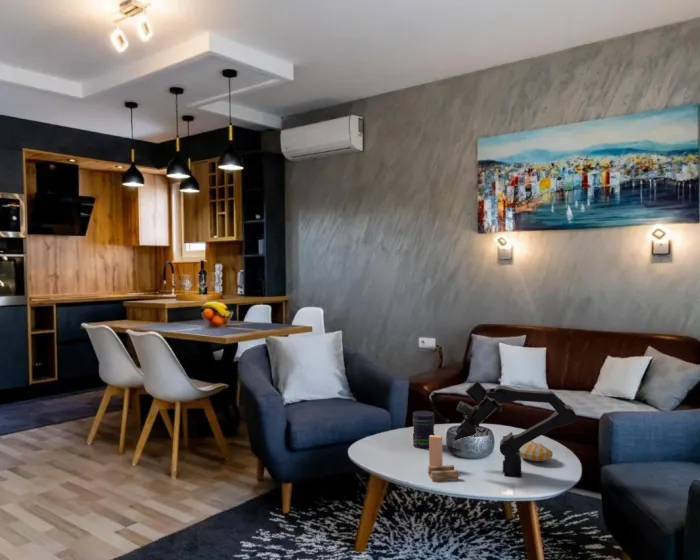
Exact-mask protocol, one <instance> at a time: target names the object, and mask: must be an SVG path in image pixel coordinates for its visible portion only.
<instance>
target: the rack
mask: <svg viewBox="0 0 700 560" xmlns="http://www.w3.org/2000/svg"><path fill="white" fill-rule="evenodd" d="M427 474H429V475H428V476H429V478H430V480H431V479H432V480H431V481H432V482H447V481H446V480H455V481H459V471H458V470H457V469H455V466H454V465H453V464H449V465H448V464H447V465H445V464H444V465H443V466H429V465H428V467H427Z"/></svg>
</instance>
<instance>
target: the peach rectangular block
mask: <svg viewBox="0 0 700 560" xmlns="http://www.w3.org/2000/svg"><path fill="white" fill-rule="evenodd" d="M428 450H429V453H428V455H429V458H428V459H429V465H428V466H444V465H443V463H444V462H443V460H444V459H443V435H435V434H434V435H430V436H429V449H428Z"/></svg>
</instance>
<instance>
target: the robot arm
mask: <svg viewBox="0 0 700 560" xmlns="http://www.w3.org/2000/svg"><path fill="white" fill-rule="evenodd" d="M464 392H465V394H466V395H468V396H469V398H471V400H472V401H474V403H476V402H477V403H479V404H478V405H474V406H472V405H470V404H469V403H466V402H464V401H462V400H460V401H459V403H458V404H457V407H456V411H458V412H460V413H462V414H463V416H462V422H461V423H460V425H459V426H458V428H457V429H456V431H455V433H456V435H455V436H453V440H454V441H457V440H459V439H462V438H466V437H470V436H474V435H475V434H476V433H478V429H477V428H479V426H480V424H482V423H483V422H484V421H486V420H487V418H488V417H489V416H490V415H491V414H492V413H493V412H495V410H497V411H498V412H499V413H502V411H503V410H502V407H503V404H506V403H513V402H518V401H519V402H533V403H547V404H549V405H550V406H551V407H552V408H553V409H554V412H553V413H552V414H551V415H550V416H549V417H547V418H545V419H543V420H542V421H540V422H538V423H536V424H535V425H533V426H531V427H529V428H527V429H526V430H523V431H522V432H520V433H517V434H514V433H513V431H511V432H509V433H508V434H507V435H503V436H502V439H501V440H500V441H499V452H500V455H502V456H503V460H502V473H503V475H504V477H514V478H515V477H516V478H517V477H518V478H522V477H523V476H522V457H520V450H519V449H520V448H521V447H522V446H523V445H524V444H526V443H528V442H530V441H533V440H535V439H537V438H539V437H540V436H542V435H544V434H546V433H548V432H549V431H551V430H554V429H555V428H560V427H564V426H568V425H570V424H573V423H574V422H575V421H576V419H577V414H576V412H575V410H574V408H573V407H572V406H571V405H570V404H569V405H568V404H566V403H565V401H563V400H562V399H561V398H559V396H558V395H556V393H555V392H554V391H545V390H543V391H541V390H540V391H539V390H525V389H517V388H513V387H509V386H506V385H497V386H496V387H495V388H494V387H493V388H487V389H486V387H484V386H483V384H482V383H481V382H480V380H476V381H475V382H473V383H472V384H470V385H469V386H468V387H467V388H466V389H465V390H464Z"/></svg>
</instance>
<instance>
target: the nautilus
mask: <svg viewBox="0 0 700 560" xmlns="http://www.w3.org/2000/svg"><path fill="white" fill-rule="evenodd" d="M519 450H520V457H521V459H526V460H529V461H530V462H543V461H548V460H550V459H552V457H553V451H552V450H551V449H549V448H548V447H546V446H544V445H543V444H542V443H540V442H534V441H533V440H531V441H530V442H528V443H526V444H524V445H523V446H522V447H521V448H520V449H519Z"/></svg>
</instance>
